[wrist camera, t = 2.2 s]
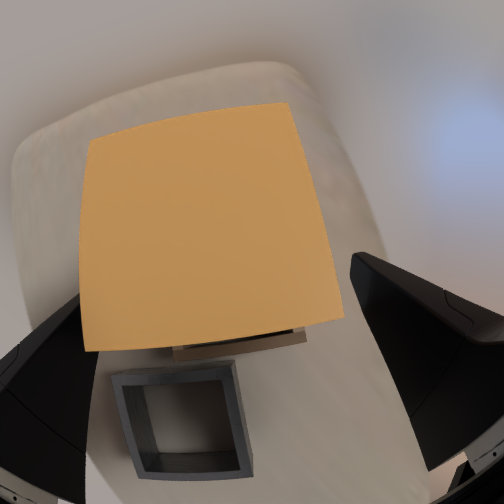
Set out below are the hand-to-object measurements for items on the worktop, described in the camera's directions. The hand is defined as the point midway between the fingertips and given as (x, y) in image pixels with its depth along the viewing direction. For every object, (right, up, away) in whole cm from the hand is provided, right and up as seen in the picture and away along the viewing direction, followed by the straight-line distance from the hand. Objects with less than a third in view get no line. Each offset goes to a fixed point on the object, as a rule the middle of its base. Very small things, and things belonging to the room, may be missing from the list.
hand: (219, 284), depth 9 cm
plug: (0, -2, +8) cm, 9 cm away
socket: (-3, -9, +6) cm, 12 cm away
